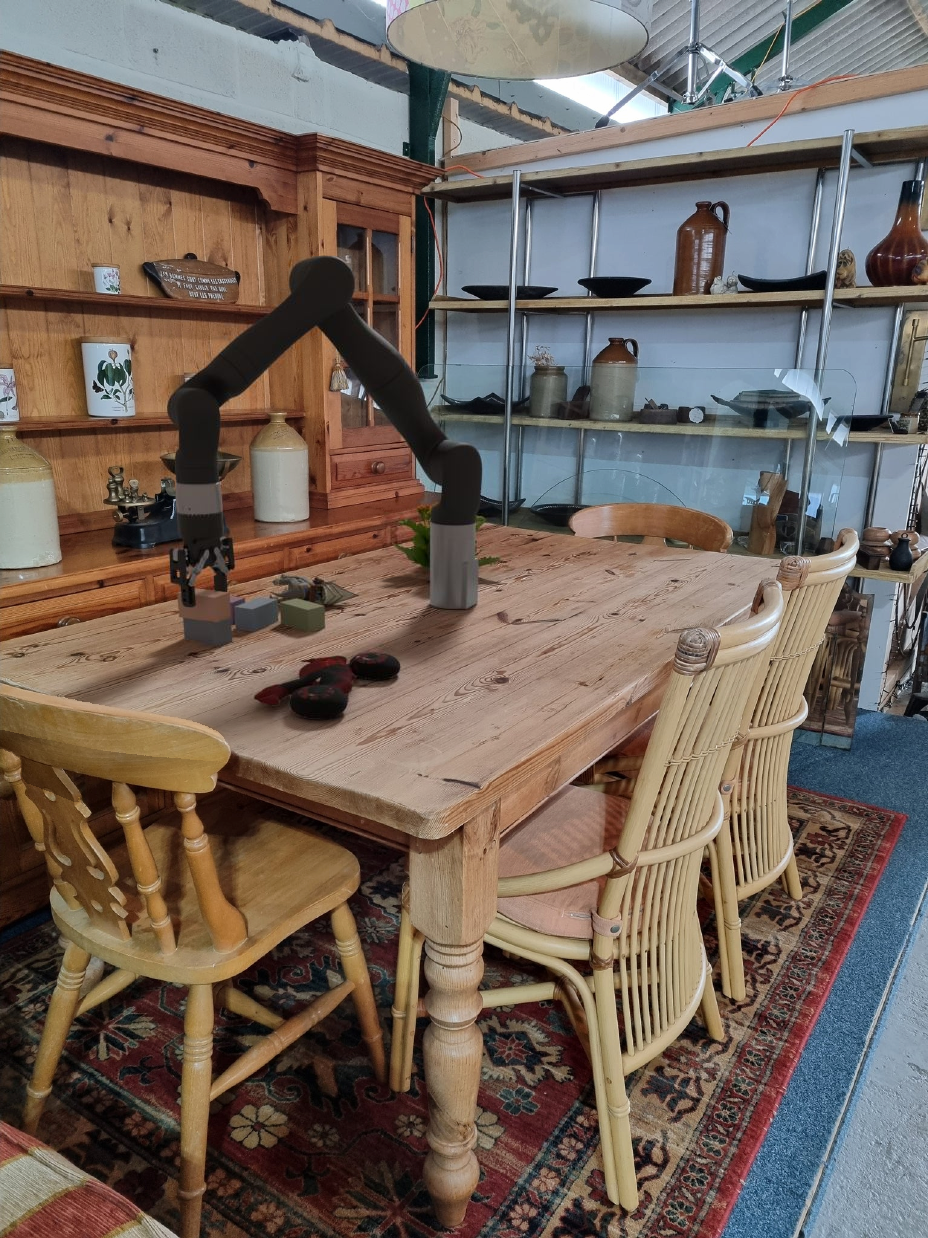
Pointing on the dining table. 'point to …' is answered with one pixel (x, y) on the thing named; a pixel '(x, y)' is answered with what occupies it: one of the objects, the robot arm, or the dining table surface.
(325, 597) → the figurine
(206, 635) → the charcoal brick
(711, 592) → the dining table surface
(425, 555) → the potted flower
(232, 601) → the plum brick
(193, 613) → the terracotta brick
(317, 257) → the robot arm
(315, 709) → the toy motorcycle
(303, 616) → the olive brick
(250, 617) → the slate blue brick
